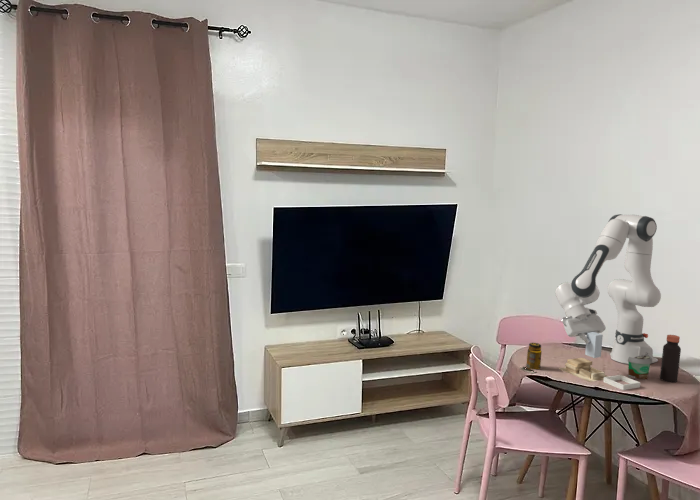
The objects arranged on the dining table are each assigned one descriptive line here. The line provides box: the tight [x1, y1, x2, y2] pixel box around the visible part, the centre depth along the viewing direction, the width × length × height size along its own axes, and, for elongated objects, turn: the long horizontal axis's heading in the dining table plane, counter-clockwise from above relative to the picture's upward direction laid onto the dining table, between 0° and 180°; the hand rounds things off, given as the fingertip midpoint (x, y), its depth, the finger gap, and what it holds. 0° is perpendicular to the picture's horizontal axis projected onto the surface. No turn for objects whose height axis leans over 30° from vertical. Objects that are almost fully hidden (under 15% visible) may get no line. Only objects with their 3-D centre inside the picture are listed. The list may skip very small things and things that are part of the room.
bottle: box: [659, 334, 682, 383], centre depth 254 cm, size 7×7×20 cm
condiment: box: [519, 342, 542, 374], centre depth 262 cm, size 7×8×12 cm
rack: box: [558, 366, 609, 383], centre depth 257 cm, size 14×18×4 cm
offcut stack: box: [564, 357, 593, 373], centre depth 261 cm, size 10×6×4 cm, turn 114°
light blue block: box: [584, 332, 604, 359], centre depth 253 cm, size 4×5×10 cm
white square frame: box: [602, 374, 641, 391], centre depth 245 cm, size 10×10×3 cm
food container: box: [627, 354, 653, 381], centre depth 255 cm, size 12×6×10 cm, turn 118°
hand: (593, 342), depth 253 cm, fingers closed on light blue block, 4 cm apart
